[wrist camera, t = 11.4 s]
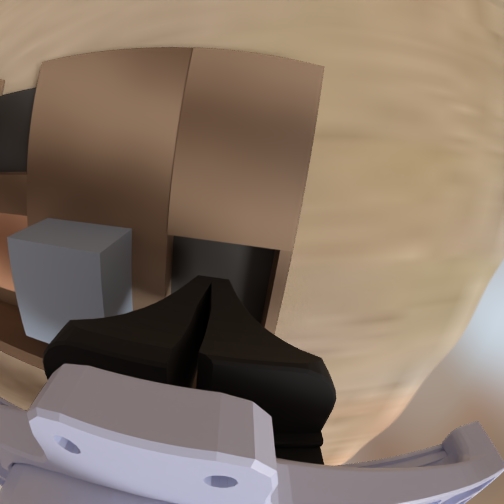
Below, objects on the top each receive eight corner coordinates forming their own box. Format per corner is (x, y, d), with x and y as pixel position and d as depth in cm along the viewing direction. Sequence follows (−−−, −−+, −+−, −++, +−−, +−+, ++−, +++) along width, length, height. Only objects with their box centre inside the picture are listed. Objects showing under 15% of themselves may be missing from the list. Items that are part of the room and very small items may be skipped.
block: (133, 322, 13) (110, 362, 10) (56, 304, 12) (26, 335, 9) (131, 228, 11) (99, 253, 8) (47, 217, 11) (7, 237, 8)
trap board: (263, 352, 15) (269, 416, 11) (-23, 287, 13) (-60, 316, 9) (315, 75, 11) (350, 41, 6) (-27, 91, 9) (-74, 90, 5)
